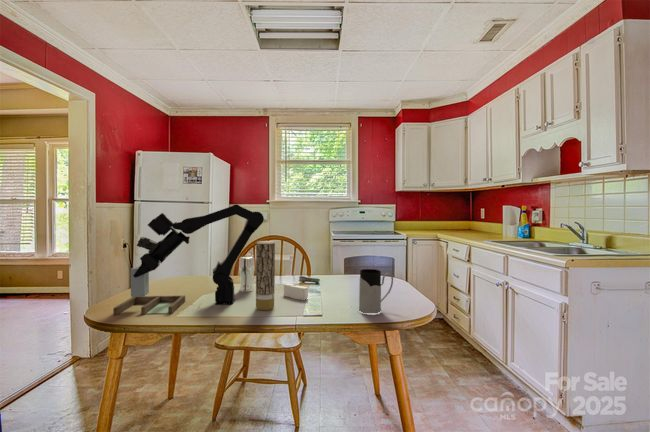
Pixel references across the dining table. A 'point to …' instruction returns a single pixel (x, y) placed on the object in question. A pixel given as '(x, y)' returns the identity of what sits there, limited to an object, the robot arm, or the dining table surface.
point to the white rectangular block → (295, 291)
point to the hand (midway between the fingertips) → (136, 275)
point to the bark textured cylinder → (265, 275)
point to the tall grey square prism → (139, 284)
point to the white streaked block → (246, 273)
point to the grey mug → (371, 290)
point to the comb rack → (152, 304)
